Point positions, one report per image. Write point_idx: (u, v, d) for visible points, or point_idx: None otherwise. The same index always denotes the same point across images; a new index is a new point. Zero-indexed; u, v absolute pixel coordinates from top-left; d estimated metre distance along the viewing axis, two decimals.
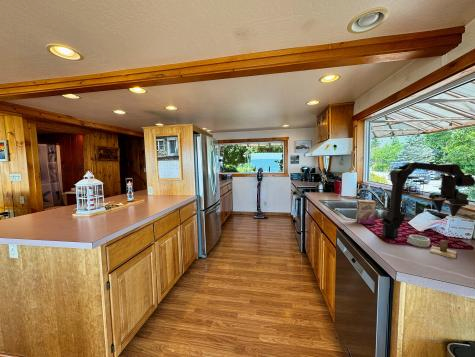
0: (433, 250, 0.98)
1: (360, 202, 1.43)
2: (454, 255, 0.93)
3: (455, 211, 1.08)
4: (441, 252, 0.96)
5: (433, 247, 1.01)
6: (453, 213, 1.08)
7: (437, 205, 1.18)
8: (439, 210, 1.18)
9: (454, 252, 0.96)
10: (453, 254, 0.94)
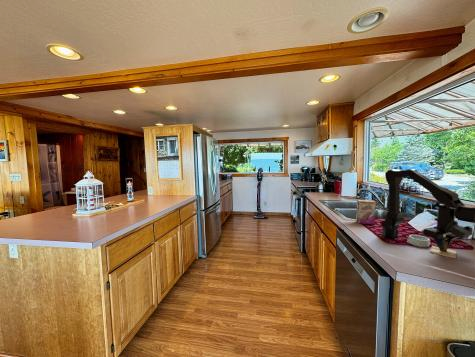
0: (433, 250, 0.98)
1: (360, 202, 1.43)
2: (454, 255, 0.93)
3: (439, 244, 0.96)
4: (441, 252, 0.96)
5: (433, 247, 1.01)
6: (439, 245, 0.97)
7: None
8: None
9: (454, 252, 0.96)
10: (453, 254, 0.94)
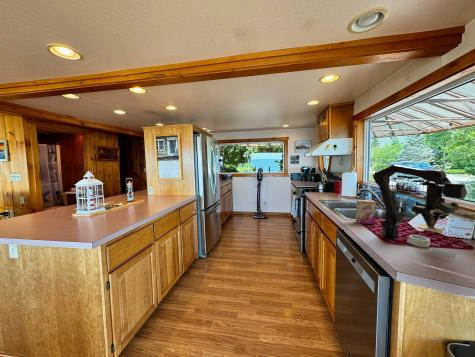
0: (421, 226, 1.03)
1: (360, 202, 1.43)
2: (440, 230, 0.97)
3: (427, 220, 1.01)
4: (428, 228, 1.00)
5: (422, 224, 1.06)
6: (426, 222, 1.02)
7: None
8: None
9: (441, 228, 1.00)
10: (440, 229, 0.98)
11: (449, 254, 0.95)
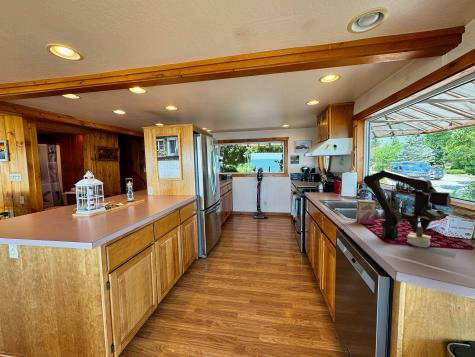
0: (410, 235, 1.08)
1: (360, 202, 1.43)
2: (428, 239, 1.03)
3: (413, 227, 1.06)
4: (417, 237, 1.06)
5: (411, 233, 1.11)
6: (413, 229, 1.07)
7: (422, 224, 1.08)
8: (423, 229, 1.08)
9: (428, 237, 1.06)
10: (427, 238, 1.04)
11: (449, 254, 0.95)
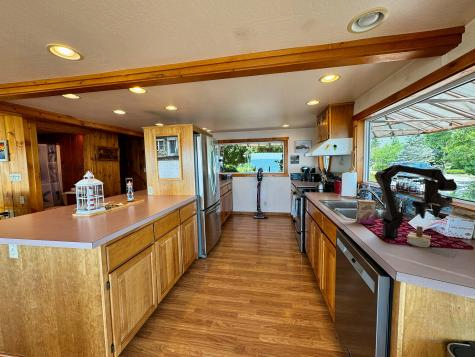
0: (410, 235, 1.08)
1: (360, 202, 1.43)
2: (428, 239, 1.03)
3: (421, 213, 1.14)
4: (417, 237, 1.06)
5: (411, 233, 1.11)
6: (421, 215, 1.15)
7: (434, 210, 1.17)
8: (435, 215, 1.16)
9: (428, 237, 1.06)
10: (427, 238, 1.04)
11: (449, 254, 0.95)
